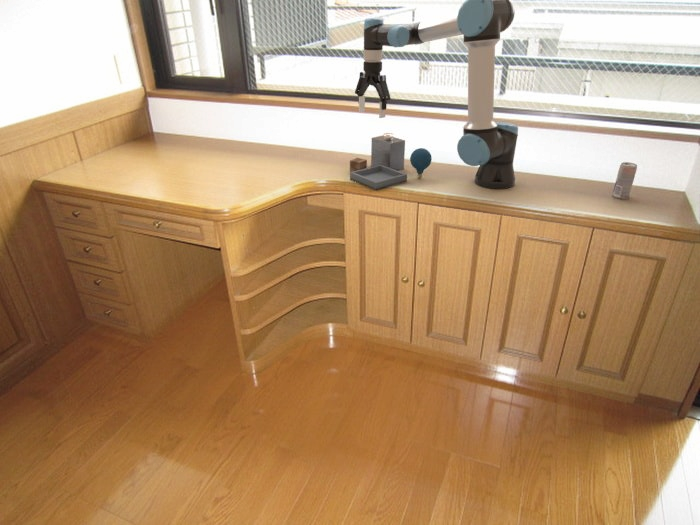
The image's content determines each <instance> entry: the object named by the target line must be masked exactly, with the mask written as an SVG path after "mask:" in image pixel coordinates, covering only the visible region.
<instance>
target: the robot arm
mask: <svg viewBox="0 0 700 525" xmlns="http://www.w3.org/2000/svg"><path fill="white" fill-rule="evenodd" d="M515 12H516V11H515V6H514V3H513V2H512V0H465V1H464V2H463V3H462V4H461V6H460V8H459V9H458V12H456V13H451V14H447V15H442V16H439V17H435V18H431V19H427V20H423V21H419V22H415V23H414V22H413V23H405V24H404V23H403V24H402V23H401V24H385V23H384V19H383V18H379V17H369V18H365V19H364V23H363V69H362V70H363V71H361V72H359V78H358V81H357V84H356V88H355V89H354V90H355V91H354V94H355V95H357V97H358V99H357V102H358V113H365V112H366V111H365V108H366V107H365V106H366V102H365V101H366V95H365V93H366V91H367V89H369V86H371V87H373V88H375V90H376V93H377V94H378V97H379V99H380V100H379V108H378V109H379V114H378V117H379V118H380V119H383V118H386V113H387V112H386V110H387V105H388V104H387V102H388V101H390V100H391V95H390V94H391V93H390V90H389V86H388V84H387V75H386V74H382V75H381V72H382V70H383V62H382V60H383V48H384V46H385V47H393V48H403V47H405V46H409V45H411V46H413V45H415V46H416V45H417V46H418V45H421V44H424V43H427V42H432V41H437V40H443V39H447V38H452V37H458V36H463V44H464V45H465V46H466V47H467V53H468V54H467V58H468V60H467V66H468V68H467V122H466V123H465V125H464V126H463V127H462V128H463V129H462V131H463V134H462V136H461V137H460V139H458V142H457V145H456V150H457V156H458V157H459V158H460V160H461V161H462V162H463V163H465V165H468V166H471V167H478V168H477V171H476V173H475V174H474V183H475V184H476V185H478V186H481V187H484V188H488V189H496V190H497V189H498V190H499V189H500V190H502V189H508V188H513V186H515V182H516V177H515V170H514V158H515V155H516V154H515V153H516V146H517V142H518V141H517V140H518V137H519V134H518V133H519V127H518V125H517V124H515V123H511V122H506V121H499V120H497V121H495V120H494V105H495V104H494V100H495V98H494V96H495V95H494V94H495V67H496V66H495V58H496V56H495V55H496V53H495V52H496V46H497V44H498V42H499V41H501V33H503V32H505V31H506V30H508V29H509V27H511V25H512V23H513V21H514V19H515Z"/></svg>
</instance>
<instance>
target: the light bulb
mask: <svg viewBox="0 0 700 525" xmlns="http://www.w3.org/2000/svg"><path fill="white" fill-rule="evenodd" d="M432 158H433V156H432V154H431V152H430V151H429V150H428V149H427V148H423V147H421V148H417V149H414V150H413V151H412V153H411V154H410V157H409V161H410V162H409V163H410V164H411V166H412V167H413V168H414V169H415V170H416V173H417V178H418V179H421V178H423V173H424V172H425V170H426V169H427V168H429V166H430V165H431V163H432Z"/></svg>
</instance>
